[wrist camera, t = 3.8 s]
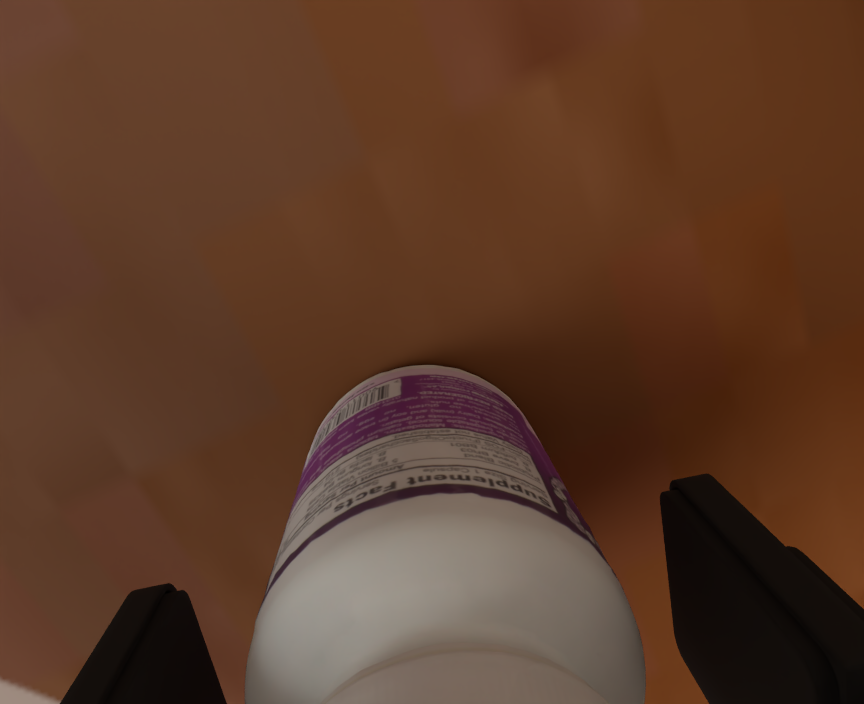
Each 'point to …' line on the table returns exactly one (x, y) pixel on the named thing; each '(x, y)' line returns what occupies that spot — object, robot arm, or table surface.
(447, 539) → the pill bottle
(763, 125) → the table surface
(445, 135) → the table surface
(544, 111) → the table surface
